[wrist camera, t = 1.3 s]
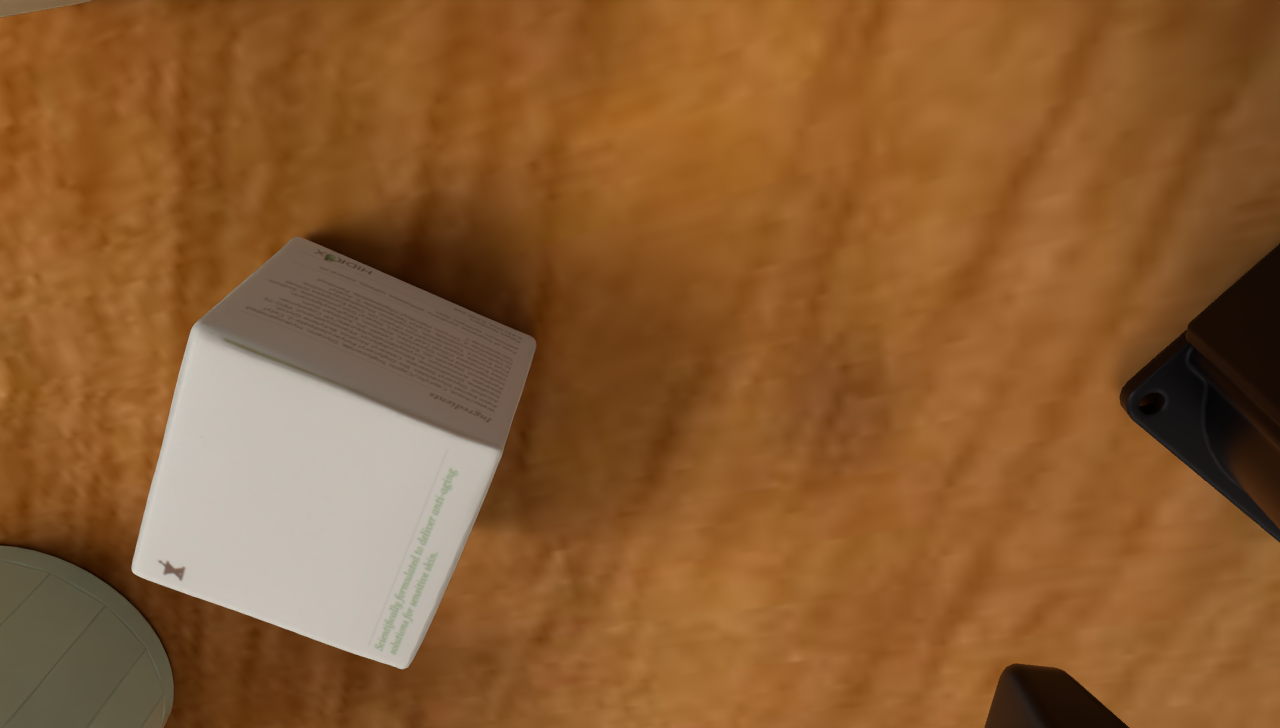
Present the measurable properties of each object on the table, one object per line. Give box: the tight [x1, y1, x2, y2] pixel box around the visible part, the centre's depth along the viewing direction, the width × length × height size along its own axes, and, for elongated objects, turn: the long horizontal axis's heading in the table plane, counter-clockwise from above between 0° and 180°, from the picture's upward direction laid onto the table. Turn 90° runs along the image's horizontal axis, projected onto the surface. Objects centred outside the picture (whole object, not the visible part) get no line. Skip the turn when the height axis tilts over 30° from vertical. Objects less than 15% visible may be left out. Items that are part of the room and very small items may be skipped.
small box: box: [132, 237, 536, 669], centre depth 20 cm, size 6×6×5 cm
